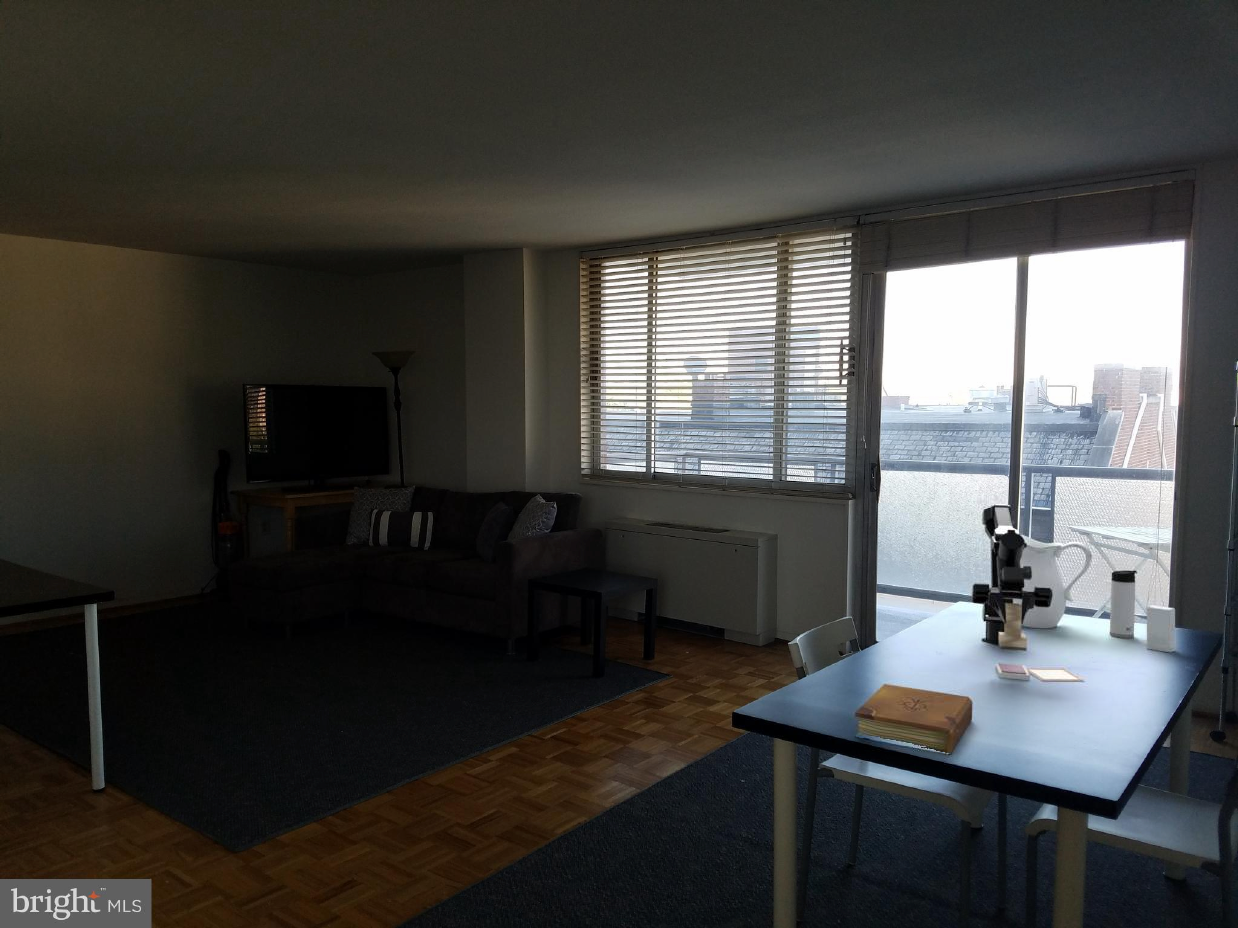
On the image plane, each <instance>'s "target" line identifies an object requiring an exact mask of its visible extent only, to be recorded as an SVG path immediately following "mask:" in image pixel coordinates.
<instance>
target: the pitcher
mask: <svg viewBox="0 0 1238 928" xmlns="http://www.w3.org/2000/svg"><path fill="white" fill-rule="evenodd" d="M1020 535H1021V536H1022V537H1023V539H1024V541H1025V542H1026V543H1027V548H1024V550H1023V553H1022V558H1021V560H1020V565H1021V568H1023V566H1031V570H1032V578H1031V580H1024V588H1023V591H1027V592H1034V588H1035V586H1038V587H1050V588H1051V589H1052V593H1053V596H1052V601H1051V605H1050V607H1048V608H1047V607H1036V606H1035V605H1034V608H1033V609H1029V610H1028V612H1027V613H1026V615H1025V618H1024V621H1023V624H1021V627H1026V628H1032V629H1052V628H1055V627H1056V626H1057V625H1058V624H1059V622H1060V621H1061V620H1062V618H1063V616H1064V614H1065V611H1066V607H1067V601H1068V602H1071V603H1072V602H1073V601H1074V600H1073V597H1072V596H1071V589H1072V587H1074V585H1075V584H1076V583H1077V581H1079V579H1080V578H1081V577H1083V575H1084V574H1085V573H1086V572H1087V571H1088V569H1089V568H1090V566H1091V563H1092V557H1093V556H1092V553H1091V549H1090V548H1089V547H1088V546H1087V545H1086V544H1085V543H1082V542H1080V541H1071V542H1067V543H1062V542H1049V543H1046V542H1041V541H1039V540H1035V539H1033V538H1031V537H1029V536H1026V535H1024V534H1020ZM1070 548H1077V549H1078V548H1079V549H1080V550H1082V551H1083V552H1084V554H1085V561H1084V563H1083V566H1082V567H1081V569H1079V571H1078V573H1076V574H1075V575H1074V577H1073V578H1072V579H1071V580H1070V581H1069V582H1068V583H1067V585H1066V586H1065V581H1064V579H1063V577H1062V573H1061V571H1060V569H1059V566H1058V563H1057V562H1056V561H1057V560H1056V558H1057V559H1060V558H1061V555H1062V553H1063V552H1064V550H1066V549H1070ZM1013 602H1015V604H1020V605H1021V604H1022V599H1013Z"/></svg>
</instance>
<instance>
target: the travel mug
mask: <svg viewBox="0 0 1238 928" xmlns="http://www.w3.org/2000/svg"><path fill="white" fill-rule="evenodd" d="M1136 574H1138V571H1137V570H1135V569H1133V570H1115V571H1112V572H1111V579H1110V580H1111V583H1110V586H1111V587H1110V614H1109V615H1110V617H1109V635H1110V636H1112V637H1113V636H1115V638H1118V637H1119V638H1120V639H1133V638H1134V636H1135V611H1136V610H1135V609H1136V606H1135V603H1136ZM1119 638H1118V639H1119Z"/></svg>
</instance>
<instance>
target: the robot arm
mask: <svg viewBox="0 0 1238 928" xmlns="http://www.w3.org/2000/svg"><path fill="white" fill-rule="evenodd" d="M981 521H982V522H981V523H982V525H984V532H985V533H986V535H987V537H988V539H990V584H989V583H980V582H979V583H978V582H977V583H974V584H972V589H971V602H972V603H973V604H979V605H980V604H981V605H982V610H981V611H982V613H981V617H982V618H981V619H982V621H983V622H985V637H984V638H981V641H983V642H986V643H990V644H992V645H997V646H999V632H1004V627H1005V623H1006V613H1005V603H1014V604H1015V602H1013V599H1022V604H1021V606H1022V616H1021V624H1023V621H1024V618H1025V615H1026V613H1027V612H1028V610H1029V609H1033V608H1034V605H1035V606H1036V607H1047V608H1048V607H1050V605H1051V601H1052V596H1053V593H1052V589H1051V588H1050V587H1038V586H1035V588H1034V592H1027V591H1023V588H1024V580H1031V578H1032V570H1031V566H1023V568H1021V565H1020V560H1021V558H1022V553H1023V550H1024V548H1027V543H1026V542H1025V541H1024V539H1023V537H1022V536H1021V535H1022V534H1020V532H1019V530H1018V529H1016V528H1014V524H1015V509H1013V508H1011V505H1009V504H1007V503H1006V504H1004V503H1002V504H1001V503H994V504H991V506H989V507H987V508H984V509H983V512H982V519H981Z"/></svg>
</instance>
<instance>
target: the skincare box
mask: <svg viewBox="0 0 1238 928" xmlns="http://www.w3.org/2000/svg"><path fill="white" fill-rule="evenodd" d="M1146 649H1147V650H1154V651H1160V652H1166V653H1172V652H1175V650H1176V609H1175V608H1174V607H1169V606H1168V607H1167V606H1161V605H1149V606H1147V607H1146Z"/></svg>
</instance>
